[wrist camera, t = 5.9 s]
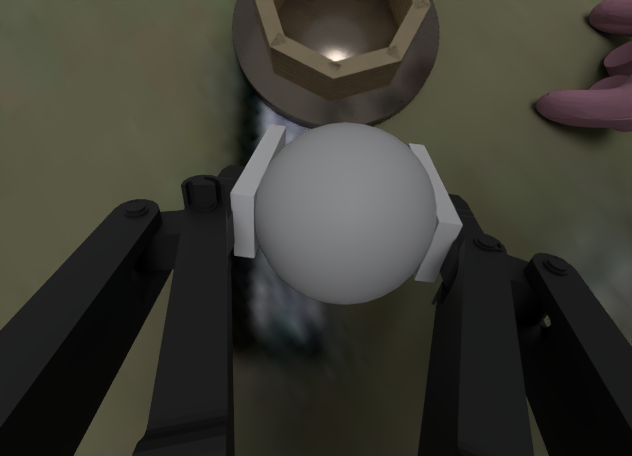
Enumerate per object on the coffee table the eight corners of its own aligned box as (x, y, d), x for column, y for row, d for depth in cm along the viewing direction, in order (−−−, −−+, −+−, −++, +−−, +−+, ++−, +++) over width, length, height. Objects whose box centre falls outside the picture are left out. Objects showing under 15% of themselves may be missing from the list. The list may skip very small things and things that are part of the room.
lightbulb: (263, 211, 19) (200, 131, 8) (355, 173, 19) (412, 49, 9) (302, 306, 18) (290, 358, 7) (397, 264, 19) (517, 257, 8)
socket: (464, 4, 23) (493, -44, 20) (380, 167, 21) (395, 147, 18) (295, -80, 23) (293, -140, 20) (198, 73, 22) (177, 35, 18)
